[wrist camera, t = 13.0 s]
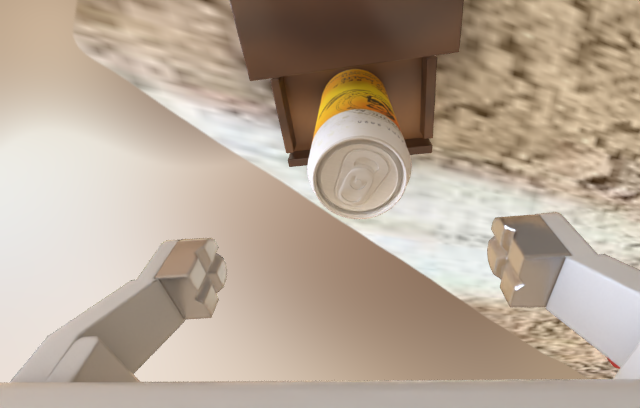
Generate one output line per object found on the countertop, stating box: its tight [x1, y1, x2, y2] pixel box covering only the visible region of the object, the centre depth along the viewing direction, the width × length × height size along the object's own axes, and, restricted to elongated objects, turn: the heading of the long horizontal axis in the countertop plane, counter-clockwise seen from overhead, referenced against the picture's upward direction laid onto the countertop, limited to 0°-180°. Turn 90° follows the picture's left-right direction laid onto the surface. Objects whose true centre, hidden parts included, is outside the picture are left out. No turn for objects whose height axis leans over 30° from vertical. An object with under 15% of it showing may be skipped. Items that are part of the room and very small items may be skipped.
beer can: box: [307, 69, 412, 219], centre depth 24 cm, size 6×6×15 cm
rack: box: [229, 0, 464, 167], centre depth 26 cm, size 15×14×9 cm
